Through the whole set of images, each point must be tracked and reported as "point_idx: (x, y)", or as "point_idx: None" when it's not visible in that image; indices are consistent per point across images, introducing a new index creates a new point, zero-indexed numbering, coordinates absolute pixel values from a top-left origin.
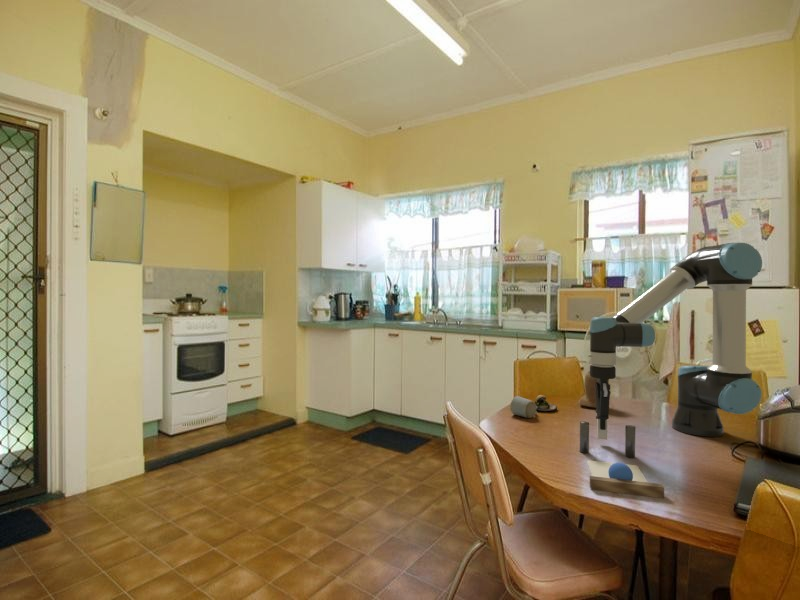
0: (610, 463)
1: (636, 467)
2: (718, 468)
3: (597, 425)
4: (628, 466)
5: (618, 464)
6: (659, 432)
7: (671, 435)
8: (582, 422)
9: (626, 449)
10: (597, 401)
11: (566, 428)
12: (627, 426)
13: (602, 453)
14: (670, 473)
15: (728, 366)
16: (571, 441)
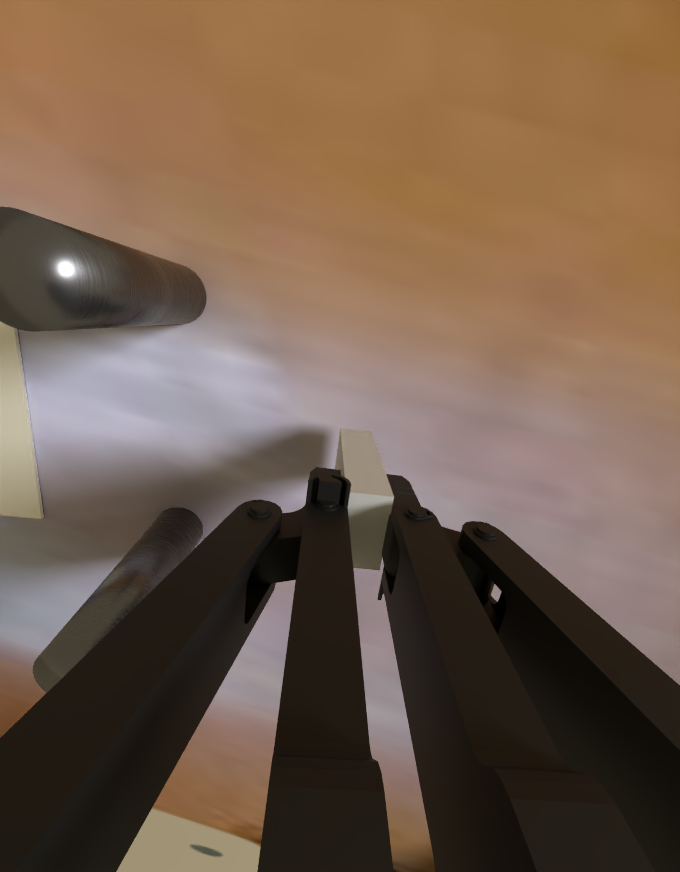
0: (9, 397)
1: (10, 508)
2: None
3: (363, 463)
4: (4, 476)
5: None
6: None
7: None
8: (16, 244)
9: (148, 531)
10: (481, 643)
11: (676, 294)
12: (57, 656)
13: (187, 402)
14: (12, 616)
15: None
16: (382, 258)
